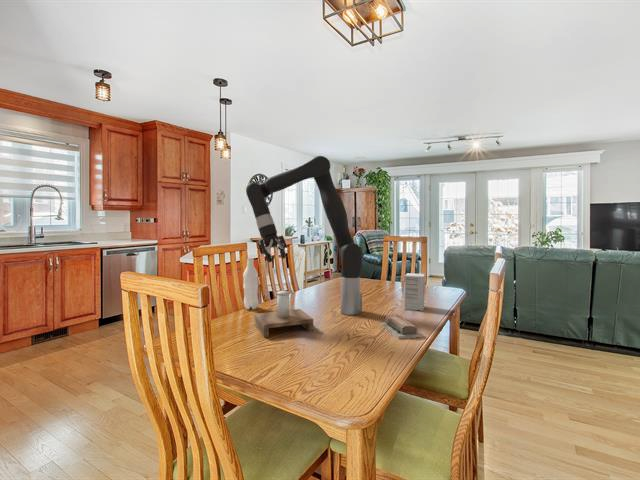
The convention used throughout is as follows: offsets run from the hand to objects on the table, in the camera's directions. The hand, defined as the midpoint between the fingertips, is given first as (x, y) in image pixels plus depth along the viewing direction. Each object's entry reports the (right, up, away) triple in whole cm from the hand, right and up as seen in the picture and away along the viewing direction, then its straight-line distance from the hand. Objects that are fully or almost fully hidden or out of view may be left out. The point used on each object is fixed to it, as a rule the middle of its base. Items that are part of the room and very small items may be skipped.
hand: (277, 260), depth 157 cm
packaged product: (+51, -28, -16) cm, 61 cm away
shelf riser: (+4, -27, -12) cm, 30 cm away
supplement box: (+66, -25, +18) cm, 73 cm away
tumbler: (+4, -22, -13) cm, 26 cm away
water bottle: (-15, -25, +18) cm, 35 cm away
